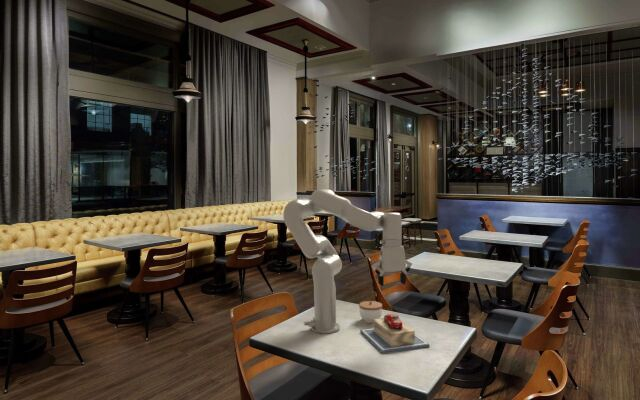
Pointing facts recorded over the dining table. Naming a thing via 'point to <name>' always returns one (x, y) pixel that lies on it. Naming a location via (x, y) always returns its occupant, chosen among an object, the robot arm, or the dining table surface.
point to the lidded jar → (370, 310)
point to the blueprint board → (384, 345)
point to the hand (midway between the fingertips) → (392, 284)
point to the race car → (393, 321)
